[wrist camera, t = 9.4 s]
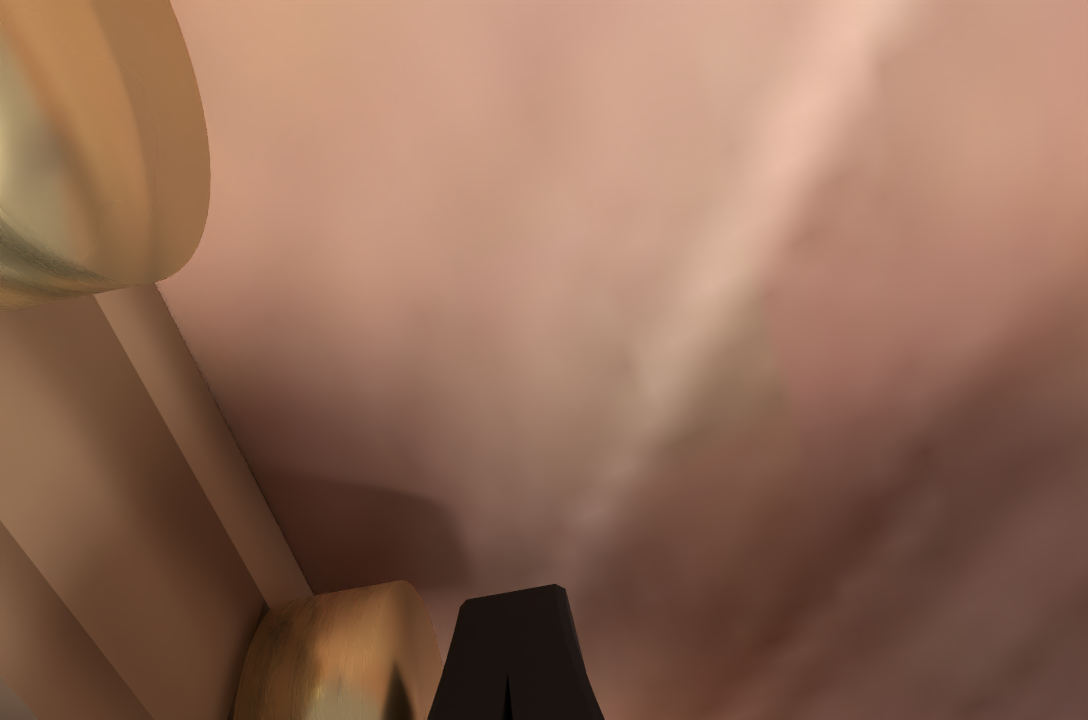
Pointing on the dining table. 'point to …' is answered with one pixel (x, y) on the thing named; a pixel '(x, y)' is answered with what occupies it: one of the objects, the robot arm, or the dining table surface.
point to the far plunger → (342, 658)
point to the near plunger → (96, 148)
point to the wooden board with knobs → (124, 520)
